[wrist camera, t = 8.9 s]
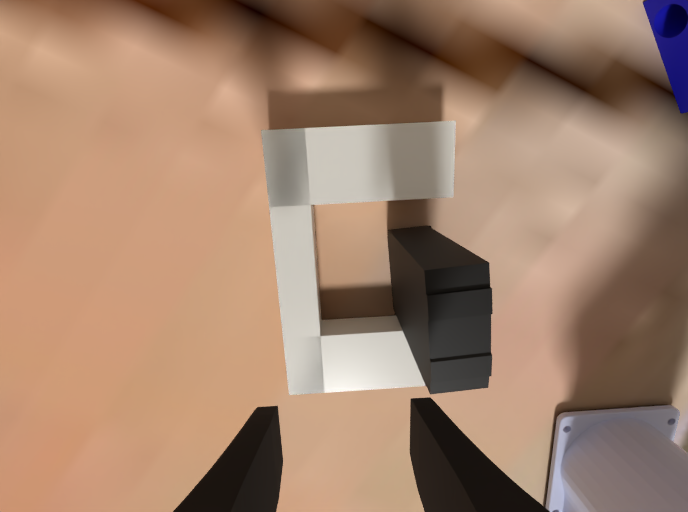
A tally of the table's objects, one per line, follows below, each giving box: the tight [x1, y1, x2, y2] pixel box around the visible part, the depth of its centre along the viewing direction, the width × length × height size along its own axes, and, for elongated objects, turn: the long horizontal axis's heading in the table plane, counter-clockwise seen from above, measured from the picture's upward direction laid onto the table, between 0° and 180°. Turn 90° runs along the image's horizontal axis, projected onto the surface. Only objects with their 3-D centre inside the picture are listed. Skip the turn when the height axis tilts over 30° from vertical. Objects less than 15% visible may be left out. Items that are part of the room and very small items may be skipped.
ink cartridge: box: [388, 226, 492, 394], centre depth 15 cm, size 5×2×8 cm, turn 6°
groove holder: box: [261, 121, 456, 395], centre depth 17 cm, size 14×9×2 cm, turn 3°
